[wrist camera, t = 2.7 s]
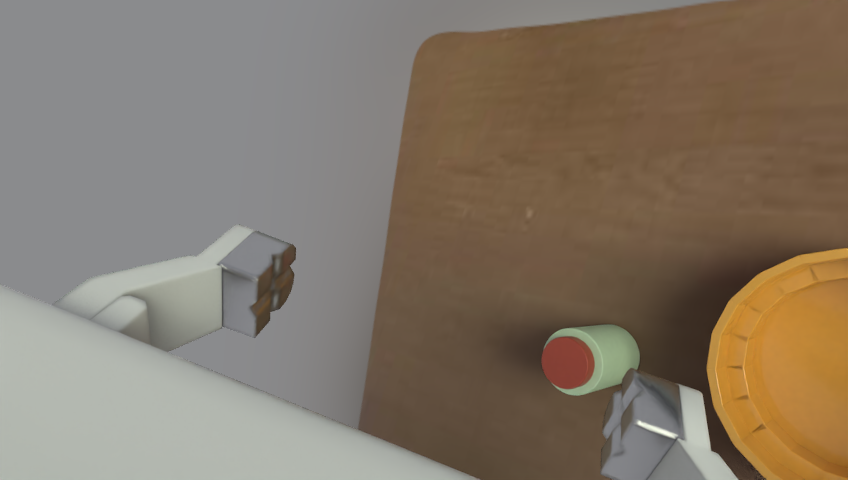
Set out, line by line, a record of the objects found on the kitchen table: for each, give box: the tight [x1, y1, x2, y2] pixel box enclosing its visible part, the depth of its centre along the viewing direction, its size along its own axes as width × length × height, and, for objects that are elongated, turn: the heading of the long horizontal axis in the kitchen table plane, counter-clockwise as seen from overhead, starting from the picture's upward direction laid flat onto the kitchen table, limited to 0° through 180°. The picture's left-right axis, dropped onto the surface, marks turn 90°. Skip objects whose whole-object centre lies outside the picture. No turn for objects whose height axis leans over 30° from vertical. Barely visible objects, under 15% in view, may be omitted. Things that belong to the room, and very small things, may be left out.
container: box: [542, 324, 640, 396], centre depth 38 cm, size 4×4×7 cm
